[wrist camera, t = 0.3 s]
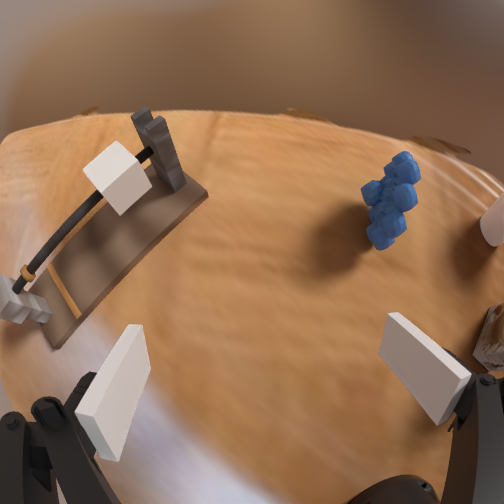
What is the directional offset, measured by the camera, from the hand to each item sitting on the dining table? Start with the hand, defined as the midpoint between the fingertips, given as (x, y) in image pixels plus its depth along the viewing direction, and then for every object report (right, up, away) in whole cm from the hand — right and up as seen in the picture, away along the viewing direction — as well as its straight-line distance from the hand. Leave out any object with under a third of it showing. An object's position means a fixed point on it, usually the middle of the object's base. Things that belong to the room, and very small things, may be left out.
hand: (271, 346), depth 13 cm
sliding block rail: (-21, +5, +20) cm, 30 cm away
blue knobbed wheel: (+15, +9, +22) cm, 28 cm away
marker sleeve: (-16, +12, +16) cm, 26 cm away
